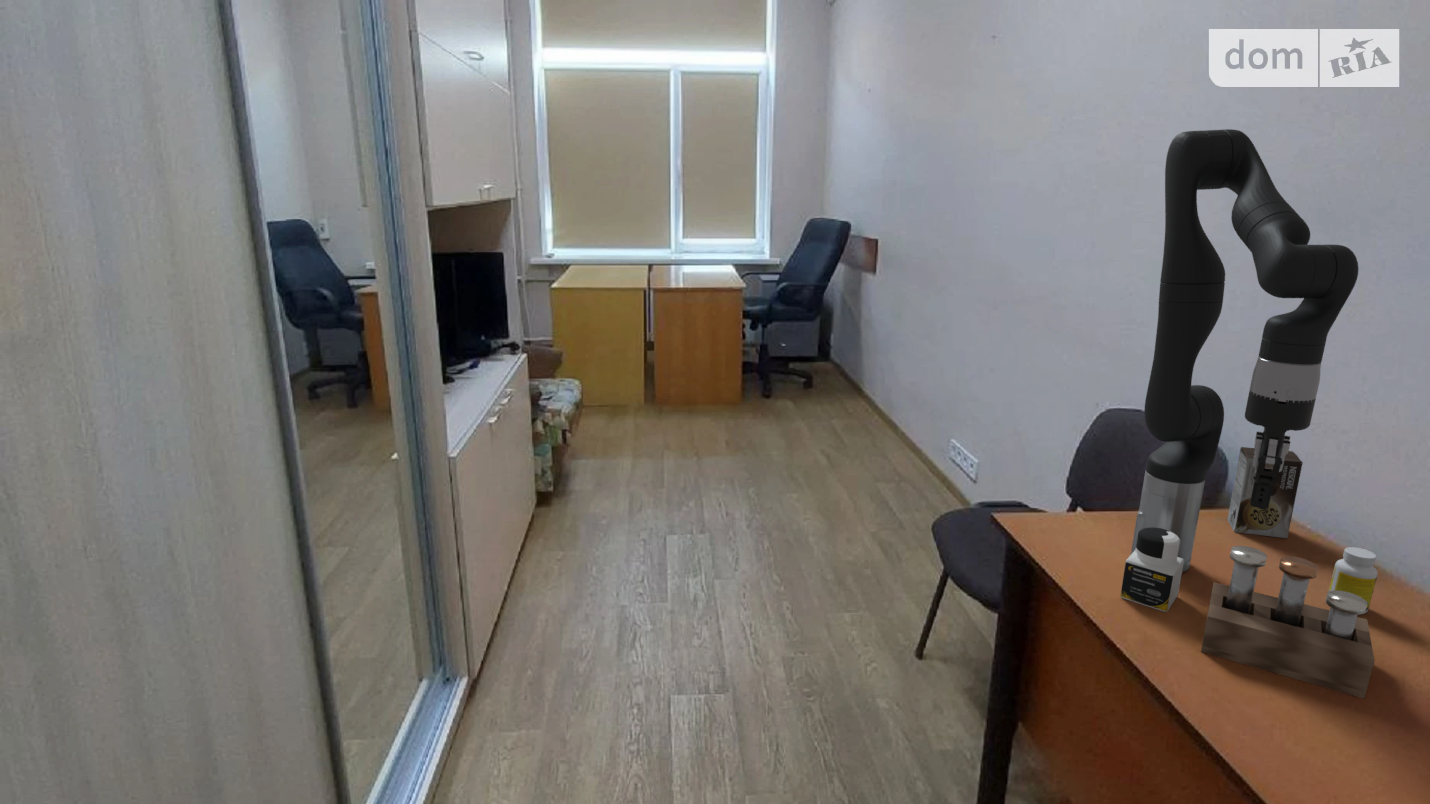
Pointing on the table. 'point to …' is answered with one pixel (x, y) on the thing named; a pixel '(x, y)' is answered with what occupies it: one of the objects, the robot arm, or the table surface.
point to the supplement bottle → (1355, 573)
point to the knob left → (1244, 577)
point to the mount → (1289, 643)
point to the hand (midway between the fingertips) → (1258, 505)
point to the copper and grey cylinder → (1293, 589)
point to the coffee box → (1281, 501)
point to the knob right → (1343, 613)
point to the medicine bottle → (1153, 569)
